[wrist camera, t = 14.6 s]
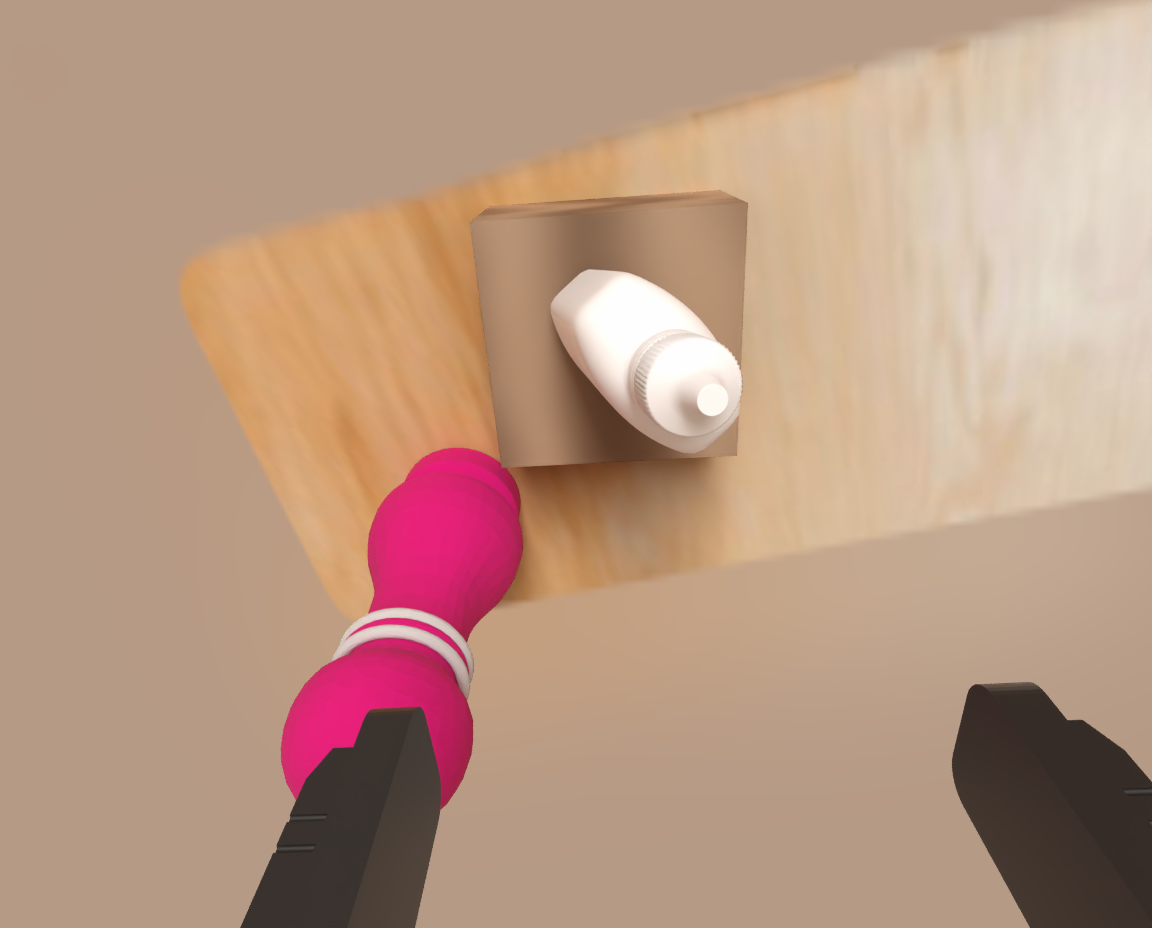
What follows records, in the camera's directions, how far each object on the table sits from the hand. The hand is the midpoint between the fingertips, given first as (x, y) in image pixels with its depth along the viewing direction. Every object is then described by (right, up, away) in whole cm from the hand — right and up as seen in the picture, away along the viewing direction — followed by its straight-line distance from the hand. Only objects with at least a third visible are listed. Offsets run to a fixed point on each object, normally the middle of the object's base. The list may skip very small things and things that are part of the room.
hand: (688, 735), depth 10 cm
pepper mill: (-8, +2, +26) cm, 27 cm away
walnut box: (0, +11, +22) cm, 24 cm away
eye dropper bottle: (0, +9, +16) cm, 18 cm away
